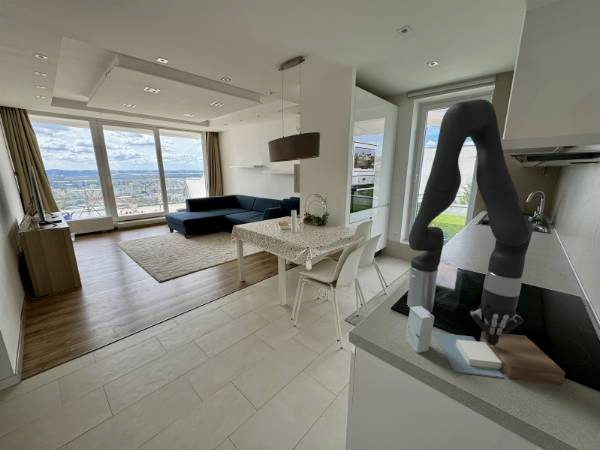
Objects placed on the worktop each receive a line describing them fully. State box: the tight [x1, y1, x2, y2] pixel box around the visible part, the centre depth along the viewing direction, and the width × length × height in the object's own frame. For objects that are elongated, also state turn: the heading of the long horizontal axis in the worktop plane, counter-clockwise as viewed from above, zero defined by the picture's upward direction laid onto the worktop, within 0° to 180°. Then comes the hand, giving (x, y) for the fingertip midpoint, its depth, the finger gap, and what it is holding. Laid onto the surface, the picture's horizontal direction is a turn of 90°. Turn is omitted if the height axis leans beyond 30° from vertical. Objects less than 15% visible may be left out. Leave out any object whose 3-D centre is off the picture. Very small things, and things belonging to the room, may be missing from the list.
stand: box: [479, 330, 566, 387], centre depth 68 cm, size 14×12×4 cm
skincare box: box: [405, 306, 435, 353], centre depth 74 cm, size 6×4×12 cm
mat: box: [433, 332, 505, 379], centre depth 72 cm, size 16×12×1 cm
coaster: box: [456, 340, 502, 370], centre depth 70 cm, size 8×8×2 cm
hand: (490, 343), depth 69 cm, fingers closed
